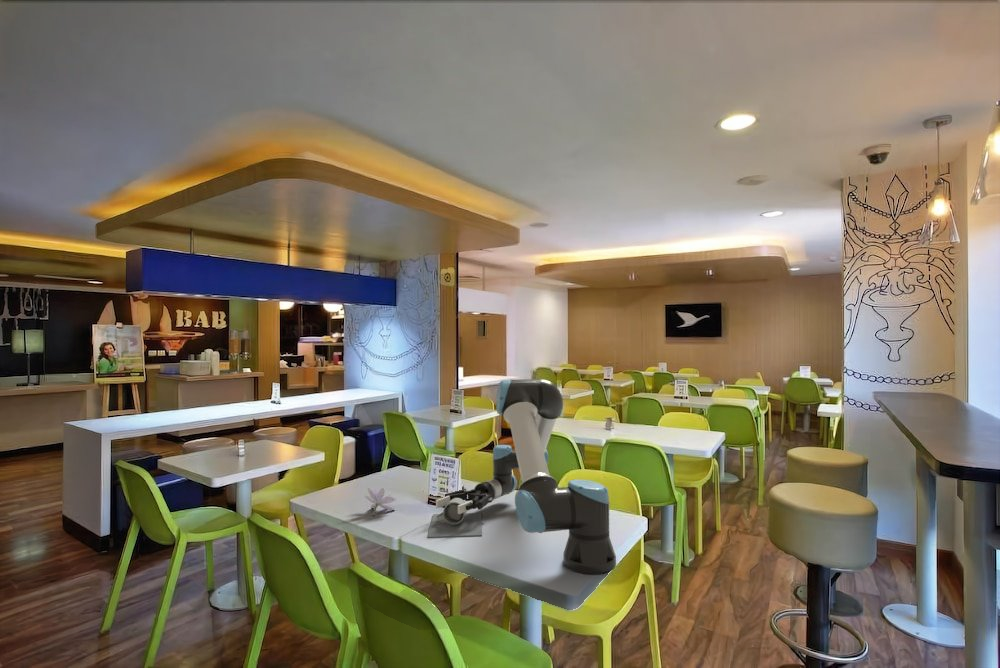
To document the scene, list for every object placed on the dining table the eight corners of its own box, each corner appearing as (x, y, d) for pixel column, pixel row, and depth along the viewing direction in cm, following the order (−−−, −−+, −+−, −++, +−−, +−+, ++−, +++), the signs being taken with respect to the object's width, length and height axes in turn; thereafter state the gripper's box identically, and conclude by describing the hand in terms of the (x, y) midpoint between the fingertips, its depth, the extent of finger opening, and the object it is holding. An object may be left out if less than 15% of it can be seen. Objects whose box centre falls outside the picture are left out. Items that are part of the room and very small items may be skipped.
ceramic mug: (467, 516, 184) (467, 495, 184) (464, 524, 176) (464, 502, 176) (439, 516, 184) (438, 495, 185) (434, 524, 176) (433, 502, 176)
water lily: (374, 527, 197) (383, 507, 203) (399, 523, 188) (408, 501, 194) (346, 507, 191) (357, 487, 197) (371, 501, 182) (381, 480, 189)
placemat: (481, 536, 169) (481, 534, 169) (427, 537, 168) (427, 536, 168) (481, 513, 191) (481, 512, 191) (433, 515, 190) (433, 514, 190)
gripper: (511, 506, 187) (471, 524, 169) (465, 496, 201) (424, 511, 183) (510, 486, 187) (471, 502, 169) (465, 477, 201) (424, 490, 183)
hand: (447, 507), depth 176 cm, fingers closed on ceramic mug, 10 cm apart
